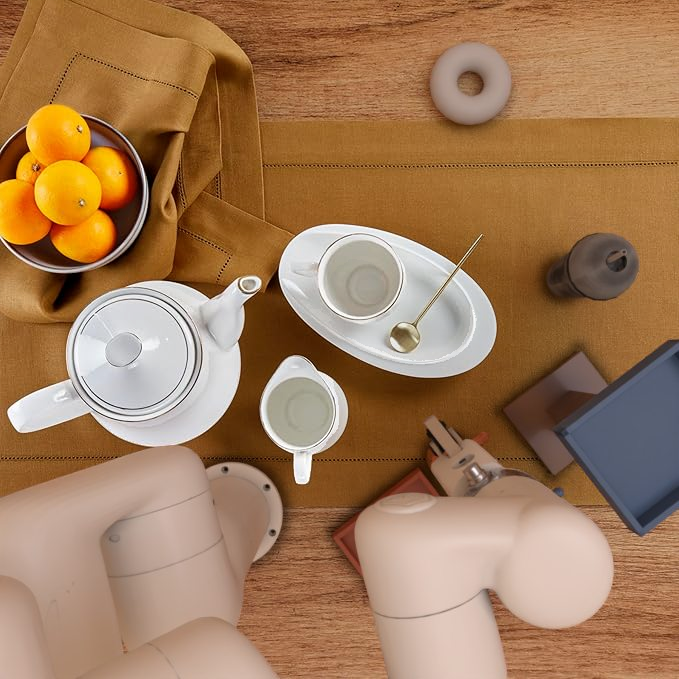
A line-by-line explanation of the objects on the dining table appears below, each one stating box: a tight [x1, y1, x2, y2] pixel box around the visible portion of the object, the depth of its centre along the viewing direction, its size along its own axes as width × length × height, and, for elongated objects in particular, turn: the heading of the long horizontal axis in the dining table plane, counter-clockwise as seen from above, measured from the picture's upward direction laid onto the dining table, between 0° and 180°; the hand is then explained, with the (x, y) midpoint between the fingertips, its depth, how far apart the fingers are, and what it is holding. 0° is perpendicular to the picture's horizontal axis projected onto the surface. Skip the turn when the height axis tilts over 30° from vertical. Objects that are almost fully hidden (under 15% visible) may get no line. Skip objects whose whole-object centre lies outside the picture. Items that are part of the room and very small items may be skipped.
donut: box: [429, 41, 513, 126], centre depth 79 cm, size 10×4×10 cm
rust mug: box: [425, 431, 490, 471], centre depth 77 cm, size 8×5×5 cm, turn 127°
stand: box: [501, 350, 610, 477], centre depth 69 cm, size 12×10×22 cm
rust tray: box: [332, 466, 442, 580], centre depth 78 cm, size 13×11×2 cm
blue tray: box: [552, 338, 679, 538], centre depth 57 cm, size 13×11×2 cm
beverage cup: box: [545, 232, 640, 302], centre depth 70 cm, size 7×7×20 cm
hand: (470, 477), depth 67 cm, fingers open, 9 cm apart
